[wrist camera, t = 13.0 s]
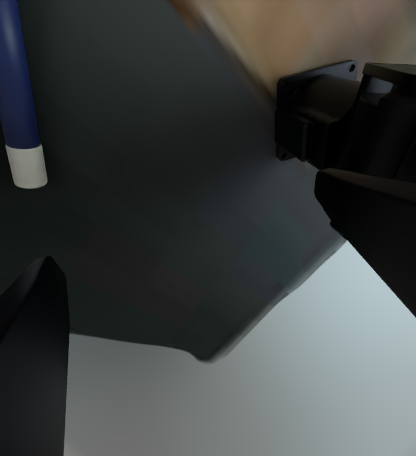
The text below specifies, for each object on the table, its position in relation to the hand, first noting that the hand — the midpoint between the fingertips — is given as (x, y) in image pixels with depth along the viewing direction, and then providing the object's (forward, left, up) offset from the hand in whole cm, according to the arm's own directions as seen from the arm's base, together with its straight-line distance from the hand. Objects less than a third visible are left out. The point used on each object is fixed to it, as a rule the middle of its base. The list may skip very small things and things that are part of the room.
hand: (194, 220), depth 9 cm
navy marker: (+7, -4, -13) cm, 15 cm away
